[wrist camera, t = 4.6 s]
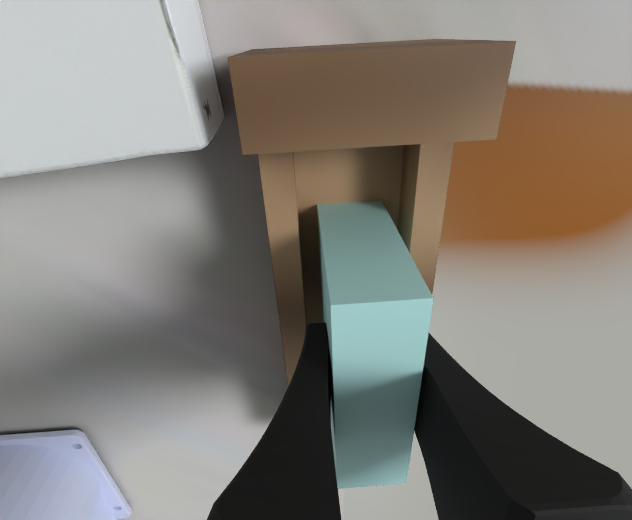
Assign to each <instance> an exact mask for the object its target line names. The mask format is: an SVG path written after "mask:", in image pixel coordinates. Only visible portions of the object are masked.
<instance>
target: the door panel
mask: <svg viewBox="0 0 632 520" xmlns="http://www.w3.org/2000/svg"><path fill="white" fill-rule="evenodd" d="M317 214H318V234H319V254H320V274H321V294H322V314H323V323H326V325H327V332H328V340H329V365H330V389H331V431H332V441H333V451H334V460H335V470H336V479H337V487H338V489H340V488H353V487H366V486H378V485H390V484H404V483H406V482H407V475H408V468H409V462H410V454H411V448H412V441H413V434H414V428H415V421H416V414H417V407H418V401H419V394H420V387H421V380H422V373H423V367H424V360H425V353H426V346H427V339H428V333H429V325H430V319H431V312H432V306H433V296H432V294H431V292H430V290H429V289H428V287H427V285H426V283H425V281H424V279H423V277H422V275H421V273H420V272H419V270H418V268H417V266H416V264H415V262H414V260H413V258H412V256H411V255H410V253H409V251H408V249H407V247H406V245H405V243H404V241H403V240H402V238H401V236H400V234H399V232H398V230H397V228H396V226H395V224H394V223H393V221H392V219H391V217H390V215H389V213H388V211H387V209H386V207H385V206H384V204H383V202H382V200H375V201H360V202H344V203H329V204H317Z"/></svg>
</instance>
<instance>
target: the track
mask: <svg viewBox="0 0 632 520" xmlns="http://www.w3.org/2000/svg"><path fill="white" fill-rule="evenodd" d="M515 44H516V41H490V40H454V39H429V40H411V41H394V42H376V43H358V44H341V45H323V46H306V47H288V48H271V49H253V50H249V51H246V52H243V53H240V54H237V55H234V56H231V57H228V63H229V69H230V76H231V83H232V89H233V96H234V102H235V109H236V116H237V122H238V129H239V135H240V142H241V149H242V155H251V154H258V159H259V167H260V174H261V182H262V190H263V198H264V205H265V213H266V221H267V228H268V236H269V244H270V251H271V259H272V267H273V275H274V282H275V290H276V298H277V305H278V313H279V321H280V329H281V336H282V344H283V352H284V359H285V367H286V375H287V383H288V386H289V384H290V381H291V379H292V377H293V374H294V372H295V369H296V366H297V363H298V360H299V357H300V354H301V351H302V347H303V343H304V338H305V333H306V326H307V325H308V324H312V323H323V314H322V294H321V274H320V254H319V234H318V214H317V204H329V203H344V202H360V201H375V200H382V202H383V204H384V206H385V207H386V209H387V211H388V213H389V215H390V217H391V219H392V221H393V223H394V224H395V226H396V228H397V230H398V232H399V234H400V236H401V238H402V240H403V241H404V243H405V245H406V247H407V249H408V251H409V253H410V255H411V256H412V258H413V260H414V262H415V264H416V266H417V268H418V270H419V272H420V273H421V275H422V277H423V279H424V281H425V283H426V285H427V287H428V289H429V290H430V292H431V294H432V292H433V285H434V278H435V271H436V264H437V257H438V250H439V244H440V237H441V230H442V222H443V216H444V209H445V202H446V195H447V188H448V180H449V174H450V167H451V160H452V152H453V146H454V142H458V141H459V142H460V141H477V140H493V139H496V138H497V133H498V128H499V123H500V118H501V113H502V108H503V103H504V98H505V93H506V88H507V84H508V79H509V74H510V69H511V64H512V59H513V54H514V49H515Z"/></svg>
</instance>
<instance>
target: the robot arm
mask: <svg viewBox="0 0 632 520" xmlns="http://www.w3.org/2000/svg"><path fill="white" fill-rule="evenodd" d="M414 431H415V434H416V437H417V439H418V442H419V445H420V448H421V451H422V455H423V458H424V461H425V465H426V469H427V473H428V476H429V481H430V485H431V489H432V493H433V497H434V501H435V506H436V510H437V514H438V518H439V520H632V489H631V488H630V487H629V485H628V484H627V483H626V482H625V480H624V479H623V478H622V477H621V476H620V474H619V473H618V472H616V471H614V470H612V469H610V468H608V467H607V466H605V465H603V464H601V463H599V462H597V461H595V460H593V459H592V458H590V457H588V456H586V455H584V454H582V453H580V452H578V451H577V450H575V449H573V448H571V447H570V446H568V445H567V444H564V443H563V442H562V441H560V440H558V439H557V438H555V437H553V436H552V435H550V434H548V433H547V432H545V431H544V430H542V429H540V428H539V427H537V426H536V425H534V424H533V423H532V422H530V421H529V420H527V419H526V418H524V417H523V416H521V415H520V414H518V413H517V412H515V411H514V410H513V409H511V408H510V407H509V406H507V405H506V404H504V403H503V402H502V401H501V400H499V399H498V398H497V397H496V396H494V395H493V394H492V393H491V392H489V391H488V390H487V389H486V388H485V387H483V386H482V385H481V384H480V383H479V382H478V381H476V380H475V379H474V378H473V377H472V376H471V375H470V374H469V373H468V372H466V370H465V369H463V368H462V367H461V366H460V365H459V364H458V363H457V362H456V361H455V360H454V359H453V358H452V357H451V356H450V355H449V354H448V353H447V352H446V351H445V350H444V349H443V347H441V345H440V344H439V343H438V342H437V341H436V340H435V339H434V338H433V337H432V336H431V335H430V333H428V339H427V346H426V353H425V360H424V367H423V373H422V380H421V387H420V394H419V401H418V407H417V414H416V421H415V428H414ZM131 511H132V510H131V508H130V506H129V505H128V503H127V502H126V500H125V498H124V497H123V495H122V493H121V492H120V490H119V489H118V487H117V485H116V484H115V482H114V480H113V479H112V477H111V476H110V474H109V472H108V471H107V469H106V467H105V466H104V464H103V463H102V461H101V459H100V458H99V456H98V454H97V453H96V451H95V450H94V448H93V446H92V445H91V443H90V441H89V440H88V438H87V437H86V435H85V434H84V432H82V431H80V430H63V431H50V432H37V433H23V434H10V435H0V520H116V519H126V518H128V517H129V516H130V514H131ZM207 520H341V513H340V505H339V496H338V487H337V479H336V470H335V460H334V451H333V442H332V432H331V389H330V365H329V340H328V332H327V325H326V323H312V324H308V325H307V326H306V333H305V338H304V343H303V347H302V351H301V354H300V357H299V360H298V363H297V366H296V369H295V372H294V374H293V377H292V379H291V381H290V384H289V386H288V389H287V391H286V393H285V395H284V398H283V400H282V402H281V404H280V406H279V408H278V410H277V412H276V414H275V415H274V417H273V419H272V421H271V423H270V424H269V426H268V428H267V430H266V431H265V433H264V435H263V436H262V438H261V440H260V441H259V443H258V444H257V446H256V447H255V449H254V450H253V452H252V453H251V455H250V456H249V458H248V459H247V460H246V462H245V463H244V465H243V466H242V468H241V469H240V471H239V472H238V473H237V475H236V476H235V477H234V478H233V480H232V481H231V482H230V484H229V485H228V486H227V487H226V489H225V490H224V491H223V492H222V494H221V495H220V496H219V497H218V499H217V500H216V501H215V503H214V504H213V506H212V509H211V511H210V514H209V516H208V519H207Z"/></svg>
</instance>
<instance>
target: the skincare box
mask: <svg viewBox="0 0 632 520" xmlns="http://www.w3.org/2000/svg"><path fill="white" fill-rule="evenodd" d="M223 119H224V112H223V108H222V103H221V99H220V94H219V90H218V85H217V81H216V76H215V72H214V67H213V63H212V58H211V54H210V50H209V45H208V41H207V36H206V32H205V28H204V23H203V19H202V15H201V10H200V6H199V2H198V0H0V178H7V177H14V176H21V175H27V174H35V173H42V172H49V171H56V170H62V169H69V168H76V167H83V166H90V165H96V164H102V163H108V162H115V161H121V160H127V159H132V158H137V157H143V156H150V155H157V154H167V153H176V152H186V151H195V150H200V149H203V148H204V147H206V146H207V145H208V144H209V143H210V141H211V140H212V139H213V137H214V136H215V134H216V132H217V131H218V129H219V127H220V126H221V124H222V122H223Z"/></svg>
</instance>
